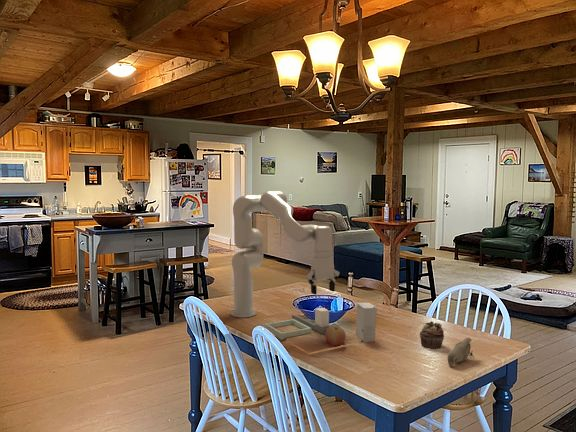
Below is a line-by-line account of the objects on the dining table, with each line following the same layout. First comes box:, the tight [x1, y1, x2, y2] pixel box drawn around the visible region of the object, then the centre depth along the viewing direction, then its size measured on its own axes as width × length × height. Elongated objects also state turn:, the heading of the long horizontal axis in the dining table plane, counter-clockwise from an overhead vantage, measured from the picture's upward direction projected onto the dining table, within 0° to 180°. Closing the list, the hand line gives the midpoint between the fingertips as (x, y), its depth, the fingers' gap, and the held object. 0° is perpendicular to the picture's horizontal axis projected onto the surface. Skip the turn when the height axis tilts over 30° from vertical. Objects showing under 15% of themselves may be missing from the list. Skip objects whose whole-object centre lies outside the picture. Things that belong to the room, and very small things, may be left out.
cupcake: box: [419, 320, 445, 350], centre depth 195 cm, size 10×10×10 cm
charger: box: [314, 307, 330, 327], centre depth 211 cm, size 5×4×9 cm
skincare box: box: [355, 302, 378, 343], centre depth 202 cm, size 8×6×15 cm
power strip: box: [291, 313, 332, 335], centre depth 220 cm, size 31×7×4 cm, turn 31°
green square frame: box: [264, 318, 312, 341], centre depth 210 cm, size 15×15×3 cm
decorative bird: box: [446, 337, 474, 368], centre depth 178 cm, size 5×16×8 cm, turn 136°
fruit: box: [324, 324, 347, 348], centre depth 194 cm, size 8×8×8 cm
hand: (323, 292), depth 210 cm, fingers open, 9 cm apart
